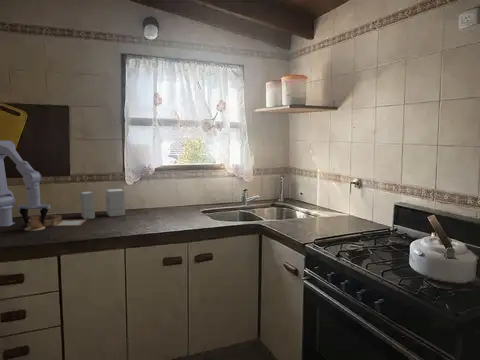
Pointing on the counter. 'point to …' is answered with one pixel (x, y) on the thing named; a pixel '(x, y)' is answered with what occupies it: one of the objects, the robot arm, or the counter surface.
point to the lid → (70, 223)
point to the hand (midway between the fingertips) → (34, 223)
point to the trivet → (34, 229)
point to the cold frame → (49, 220)
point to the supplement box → (115, 202)
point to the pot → (36, 221)
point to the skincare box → (87, 205)
